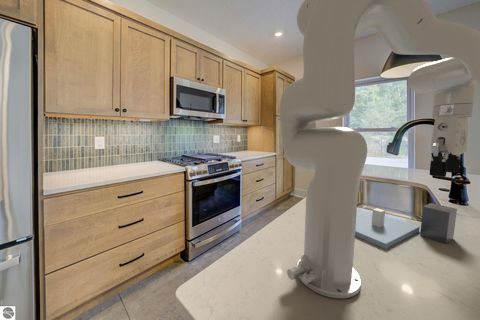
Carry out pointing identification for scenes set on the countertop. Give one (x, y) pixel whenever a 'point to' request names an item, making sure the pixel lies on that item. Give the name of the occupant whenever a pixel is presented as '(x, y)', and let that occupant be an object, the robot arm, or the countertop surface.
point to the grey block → (438, 222)
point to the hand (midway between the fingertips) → (444, 174)
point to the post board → (382, 229)
